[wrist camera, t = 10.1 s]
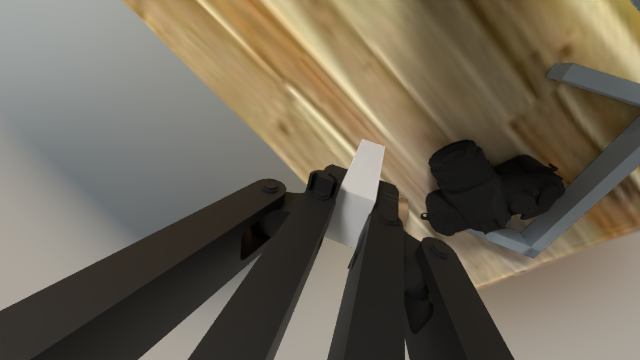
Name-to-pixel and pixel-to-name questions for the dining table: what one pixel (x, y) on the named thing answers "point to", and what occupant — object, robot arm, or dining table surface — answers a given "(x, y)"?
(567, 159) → the dining table surface
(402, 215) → the oak chock block
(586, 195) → the bay
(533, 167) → the film camera
